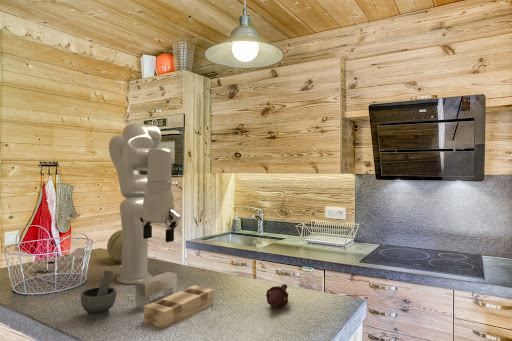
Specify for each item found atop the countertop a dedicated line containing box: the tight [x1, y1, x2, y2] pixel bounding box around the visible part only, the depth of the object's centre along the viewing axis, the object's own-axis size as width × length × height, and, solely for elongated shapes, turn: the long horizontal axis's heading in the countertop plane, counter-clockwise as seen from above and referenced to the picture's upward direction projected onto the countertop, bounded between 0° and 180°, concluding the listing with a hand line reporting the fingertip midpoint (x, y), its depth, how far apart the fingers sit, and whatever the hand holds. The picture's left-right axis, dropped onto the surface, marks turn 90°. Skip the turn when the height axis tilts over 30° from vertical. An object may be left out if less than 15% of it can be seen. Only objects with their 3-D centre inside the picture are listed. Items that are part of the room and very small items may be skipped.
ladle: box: [32, 247, 86, 274], centre depth 161 cm, size 6×6×25 cm
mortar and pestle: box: [80, 270, 117, 321], centre depth 109 cm, size 11×9×12 cm
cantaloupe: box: [106, 229, 122, 263], centre depth 170 cm, size 15×15×15 cm
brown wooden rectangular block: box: [143, 284, 215, 329], centre depth 112 cm, size 8×22×4 cm, turn 150°
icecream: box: [265, 283, 289, 310], centre depth 117 cm, size 7×7×15 cm
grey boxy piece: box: [135, 271, 178, 311], centre depth 120 cm, size 4×14×8 cm, turn 150°
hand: (158, 239), depth 120 cm, fingers open, 9 cm apart
